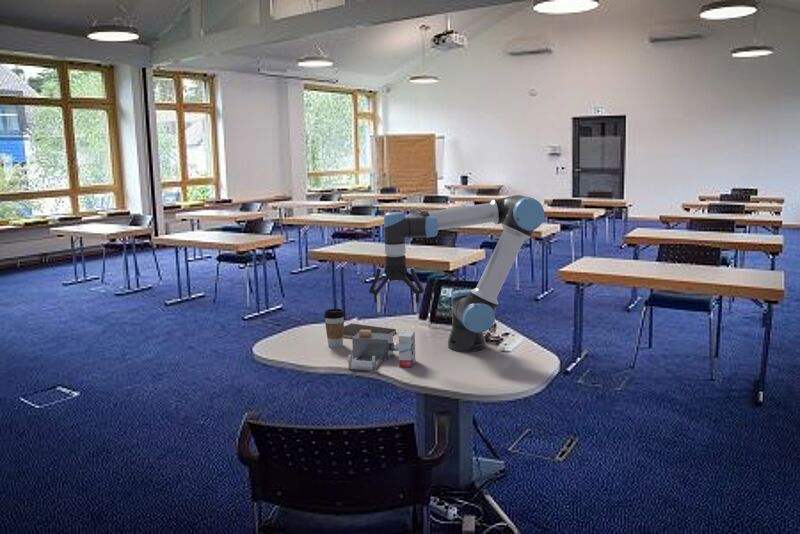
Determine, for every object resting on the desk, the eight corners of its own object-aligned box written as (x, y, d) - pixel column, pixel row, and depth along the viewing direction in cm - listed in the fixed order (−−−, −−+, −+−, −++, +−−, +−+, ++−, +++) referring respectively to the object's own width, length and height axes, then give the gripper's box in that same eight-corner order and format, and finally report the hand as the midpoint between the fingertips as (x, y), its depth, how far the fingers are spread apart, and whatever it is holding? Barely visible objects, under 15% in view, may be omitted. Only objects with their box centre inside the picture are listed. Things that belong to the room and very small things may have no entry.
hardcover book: (377, 343, 277) (376, 338, 276) (331, 336, 288) (331, 331, 287) (396, 333, 290) (396, 328, 290) (352, 327, 301) (351, 323, 301)
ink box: (411, 367, 244) (411, 336, 242) (398, 367, 245) (397, 336, 243) (415, 360, 252) (415, 330, 250) (403, 359, 253) (402, 329, 251)
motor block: (403, 354, 260) (402, 329, 258) (398, 360, 252) (398, 335, 250) (358, 352, 264) (358, 327, 262) (353, 358, 256) (352, 333, 254)
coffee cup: (321, 347, 271) (319, 311, 268) (331, 341, 279) (329, 306, 276) (340, 349, 268) (338, 313, 265) (349, 343, 275) (348, 308, 273)
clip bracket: (383, 359, 253) (382, 347, 253) (375, 370, 242) (374, 357, 241) (358, 358, 256) (357, 345, 255) (348, 368, 244) (348, 355, 243)
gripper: (430, 253, 245) (431, 309, 249) (363, 253, 249) (366, 308, 253) (428, 256, 238) (429, 314, 242) (359, 256, 242) (362, 313, 246)
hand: (397, 311), depth 247 cm, fingers open, 13 cm apart
